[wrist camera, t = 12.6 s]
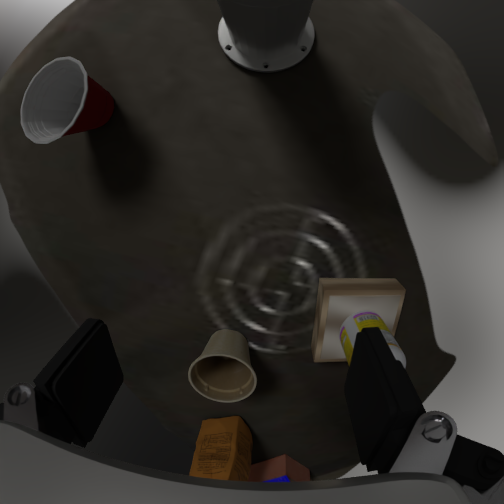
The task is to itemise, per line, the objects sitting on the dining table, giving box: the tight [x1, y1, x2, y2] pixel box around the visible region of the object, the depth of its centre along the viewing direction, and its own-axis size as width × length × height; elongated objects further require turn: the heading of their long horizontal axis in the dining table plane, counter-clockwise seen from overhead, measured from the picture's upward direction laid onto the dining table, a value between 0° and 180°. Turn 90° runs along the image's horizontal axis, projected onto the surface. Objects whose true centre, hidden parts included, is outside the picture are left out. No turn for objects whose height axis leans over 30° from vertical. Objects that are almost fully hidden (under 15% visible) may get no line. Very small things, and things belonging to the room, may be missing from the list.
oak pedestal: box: [311, 278, 406, 362], centre depth 40 cm, size 12×12×4 cm
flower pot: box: [188, 329, 257, 402], centre depth 41 cm, size 9×9×9 cm
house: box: [248, 454, 310, 482], centre depth 53 cm, size 12×20×12 cm, turn 127°
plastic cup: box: [21, 57, 114, 144], centre depth 29 cm, size 11×11×12 cm
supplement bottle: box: [339, 310, 406, 368], centre depth 32 cm, size 7×7×13 cm
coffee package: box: [190, 416, 253, 482], centre depth 42 cm, size 10×12×22 cm
